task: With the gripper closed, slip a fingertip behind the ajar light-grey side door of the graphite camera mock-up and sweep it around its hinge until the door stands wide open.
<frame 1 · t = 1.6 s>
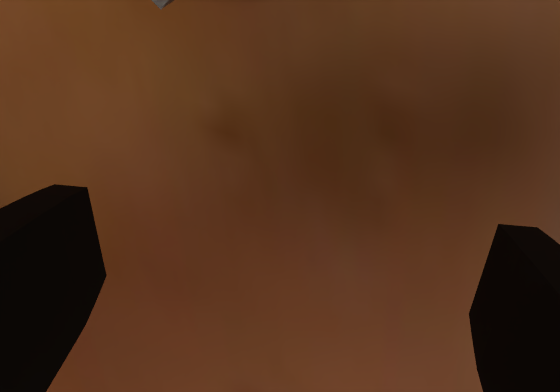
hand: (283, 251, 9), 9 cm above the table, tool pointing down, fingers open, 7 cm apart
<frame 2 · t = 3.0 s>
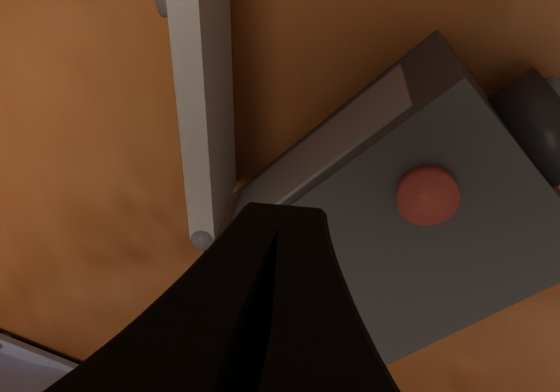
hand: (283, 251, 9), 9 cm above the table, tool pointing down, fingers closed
side door: (197, 104, 15), point 2 cm above the table, hinge at 45.0°
cam body: (378, 190, 19), on the table
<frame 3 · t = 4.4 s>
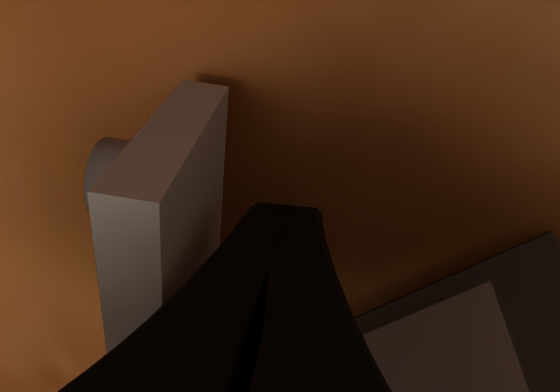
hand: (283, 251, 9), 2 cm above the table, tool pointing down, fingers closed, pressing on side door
side door: (156, 329, 9), point 2 cm above the table, hinge at 45.0°, touching gripper
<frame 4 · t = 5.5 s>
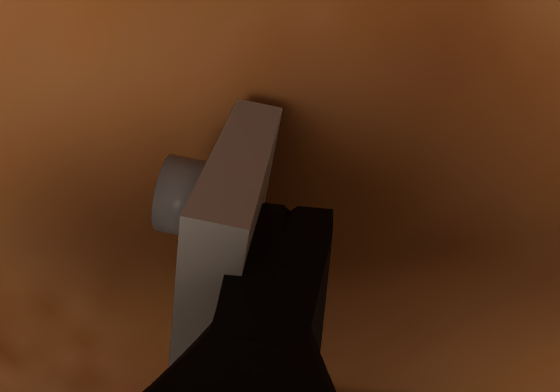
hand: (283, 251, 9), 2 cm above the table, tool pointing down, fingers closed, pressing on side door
side door: (195, 339, 9), point 2 cm above the table, hinge at 80.1°, touching gripper
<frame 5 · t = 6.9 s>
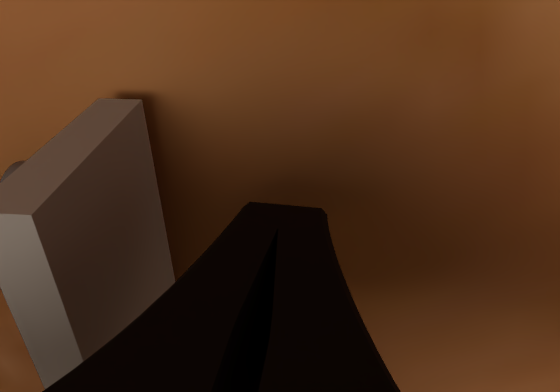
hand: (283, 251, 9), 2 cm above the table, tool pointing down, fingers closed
side door: (109, 339, 9), point 2 cm above the table, hinge at 111.0°
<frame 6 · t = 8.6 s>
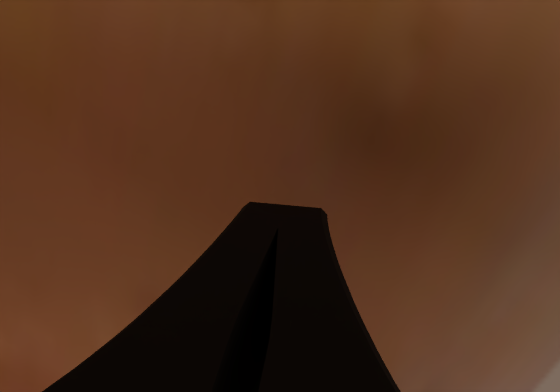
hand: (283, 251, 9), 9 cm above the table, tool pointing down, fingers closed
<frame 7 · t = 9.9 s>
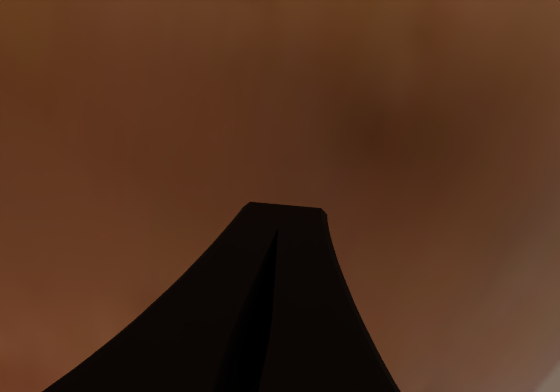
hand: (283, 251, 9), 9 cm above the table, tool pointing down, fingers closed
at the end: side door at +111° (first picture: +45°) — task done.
